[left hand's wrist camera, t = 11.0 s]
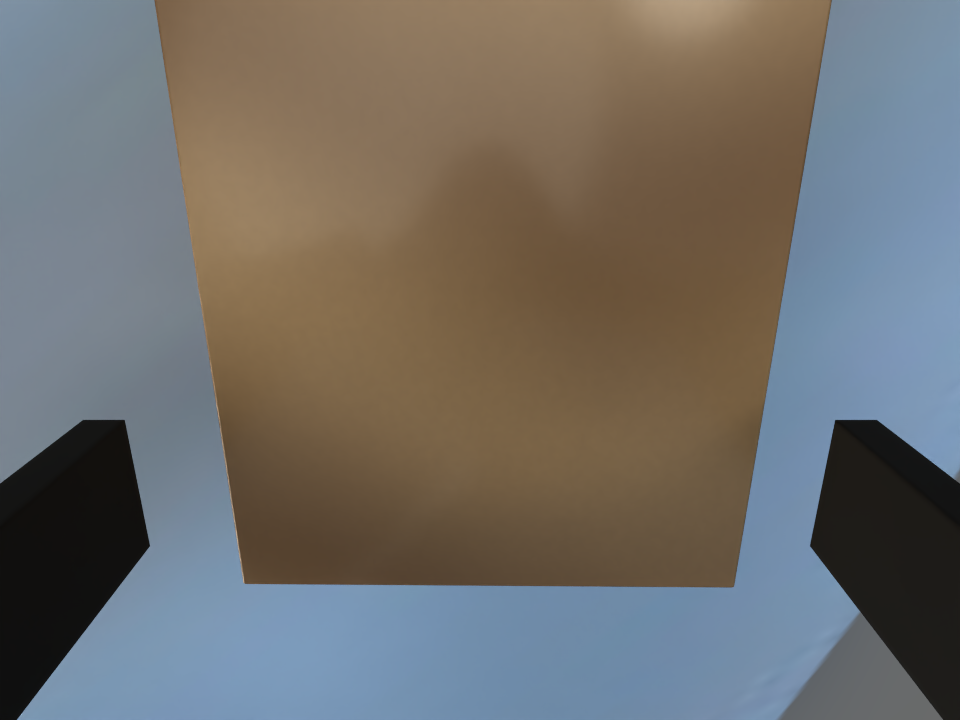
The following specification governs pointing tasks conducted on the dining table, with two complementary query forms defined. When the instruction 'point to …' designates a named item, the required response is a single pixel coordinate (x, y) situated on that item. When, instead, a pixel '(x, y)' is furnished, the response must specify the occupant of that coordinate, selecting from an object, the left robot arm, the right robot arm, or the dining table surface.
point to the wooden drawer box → (491, 277)
